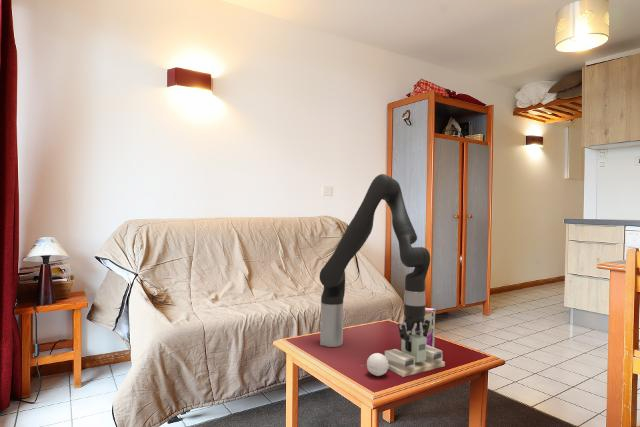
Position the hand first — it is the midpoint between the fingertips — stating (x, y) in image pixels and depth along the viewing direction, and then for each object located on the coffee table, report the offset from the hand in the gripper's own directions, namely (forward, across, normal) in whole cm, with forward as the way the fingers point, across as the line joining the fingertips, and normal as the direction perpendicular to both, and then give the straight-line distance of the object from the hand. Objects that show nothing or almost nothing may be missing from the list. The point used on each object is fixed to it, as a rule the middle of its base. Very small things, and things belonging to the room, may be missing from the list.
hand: (413, 349), depth 149 cm
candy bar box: (+6, +16, +13) cm, 22 cm away
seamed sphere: (+6, -18, +1) cm, 19 cm away
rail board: (+6, 0, 0) cm, 6 cm away
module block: (+3, 0, 0) cm, 3 cm away
